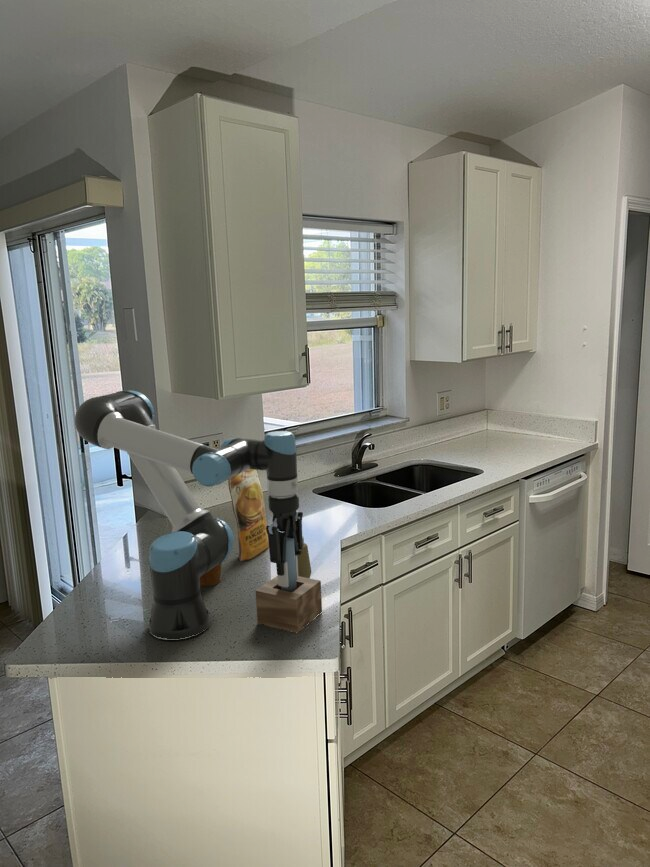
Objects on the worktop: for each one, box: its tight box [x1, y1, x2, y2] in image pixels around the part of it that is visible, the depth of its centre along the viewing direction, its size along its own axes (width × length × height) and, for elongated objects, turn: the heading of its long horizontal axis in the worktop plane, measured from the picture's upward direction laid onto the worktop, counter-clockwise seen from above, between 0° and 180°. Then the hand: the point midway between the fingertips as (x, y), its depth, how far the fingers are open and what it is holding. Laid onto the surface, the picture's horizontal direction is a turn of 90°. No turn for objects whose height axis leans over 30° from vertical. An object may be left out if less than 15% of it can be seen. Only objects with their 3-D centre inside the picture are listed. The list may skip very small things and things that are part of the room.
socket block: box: [255, 575, 323, 634], centre depth 172 cm, size 12×12×9 cm
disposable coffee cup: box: [199, 563, 222, 587], centre depth 196 cm, size 10×10×12 cm
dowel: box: [281, 537, 297, 592], centre depth 170 cm, size 4×4×14 cm
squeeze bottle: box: [298, 535, 312, 579], centre depth 191 cm, size 8×8×18 cm
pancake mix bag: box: [227, 469, 269, 562], centre depth 216 cm, size 7×19×28 cm, turn 153°
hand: (288, 582), depth 171 cm, fingers closed on dowel, 4 cm apart
